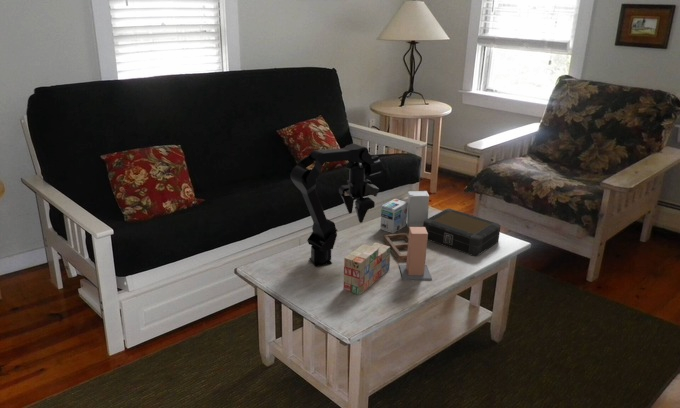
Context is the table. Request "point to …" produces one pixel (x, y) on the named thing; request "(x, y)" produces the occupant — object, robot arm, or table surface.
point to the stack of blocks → (365, 267)
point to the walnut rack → (397, 247)
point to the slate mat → (415, 277)
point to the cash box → (462, 231)
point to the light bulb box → (394, 215)
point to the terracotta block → (416, 250)
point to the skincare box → (417, 208)
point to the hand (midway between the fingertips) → (355, 217)
